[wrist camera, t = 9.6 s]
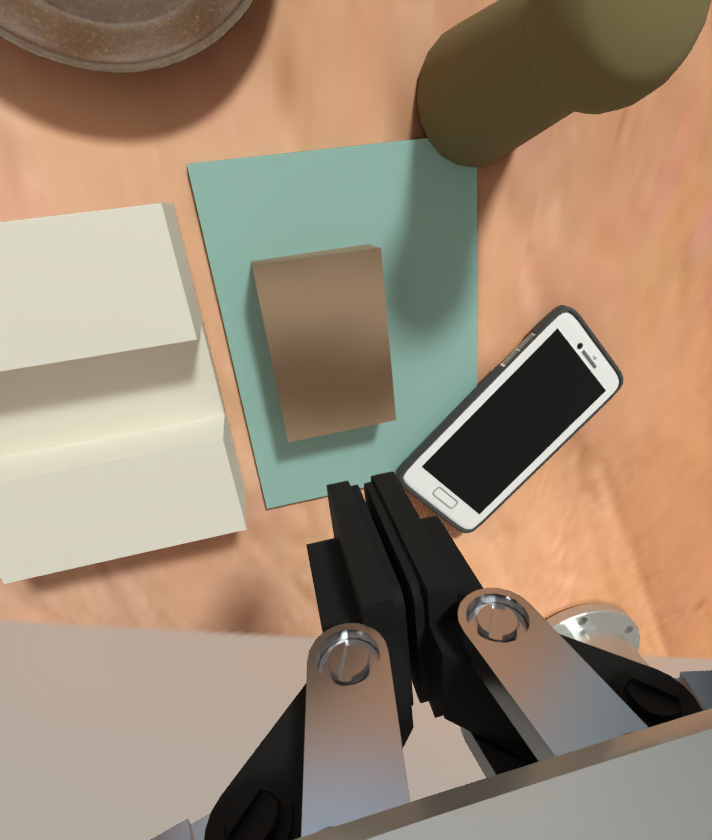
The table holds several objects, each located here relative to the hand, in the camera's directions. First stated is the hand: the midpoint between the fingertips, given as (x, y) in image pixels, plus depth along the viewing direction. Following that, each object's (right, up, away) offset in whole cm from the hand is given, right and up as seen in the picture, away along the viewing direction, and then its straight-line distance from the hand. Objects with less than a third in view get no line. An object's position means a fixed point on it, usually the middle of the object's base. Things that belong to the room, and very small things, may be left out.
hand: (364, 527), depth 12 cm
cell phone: (+10, +2, +19) cm, 22 cm away
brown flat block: (-1, +6, +12) cm, 13 cm away
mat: (0, +7, +15) cm, 17 cm away
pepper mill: (+6, +18, +11) cm, 22 cm away
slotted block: (-14, +4, +13) cm, 19 cm away
